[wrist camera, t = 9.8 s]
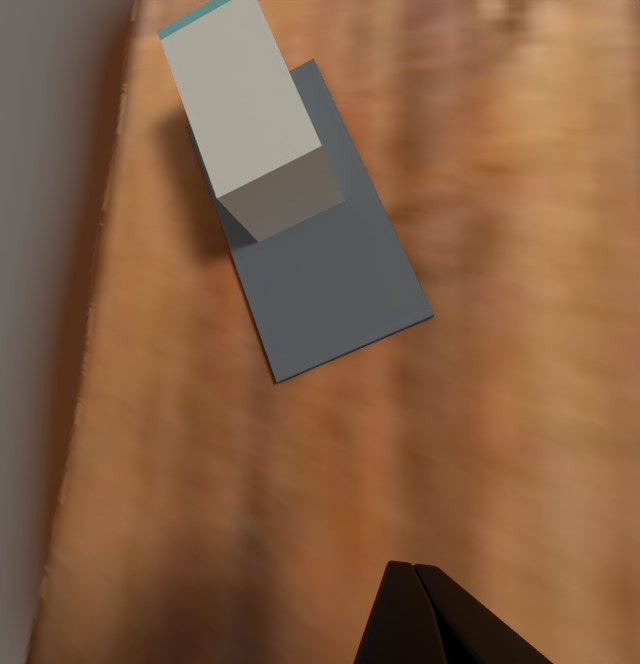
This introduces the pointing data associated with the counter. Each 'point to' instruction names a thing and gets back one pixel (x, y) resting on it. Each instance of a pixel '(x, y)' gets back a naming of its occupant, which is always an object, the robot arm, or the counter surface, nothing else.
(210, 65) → the cream block
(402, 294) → the slate mat
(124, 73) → the counter surface
